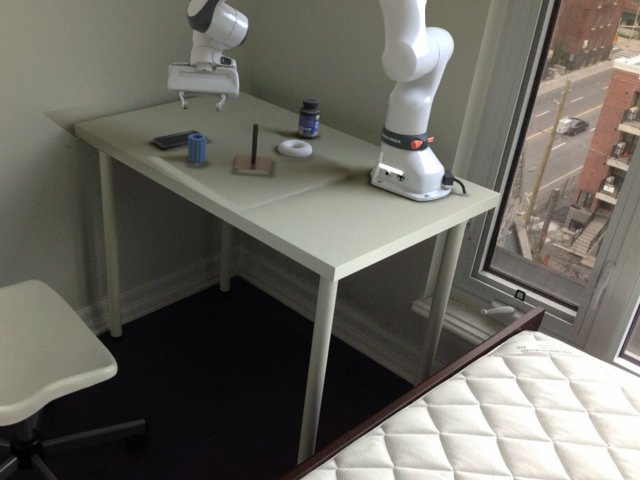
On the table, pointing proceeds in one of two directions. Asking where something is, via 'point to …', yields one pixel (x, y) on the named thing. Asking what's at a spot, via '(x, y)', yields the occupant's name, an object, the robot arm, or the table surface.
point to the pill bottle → (309, 119)
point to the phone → (174, 140)
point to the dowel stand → (253, 157)
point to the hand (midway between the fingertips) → (201, 109)
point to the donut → (294, 148)
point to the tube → (197, 148)
